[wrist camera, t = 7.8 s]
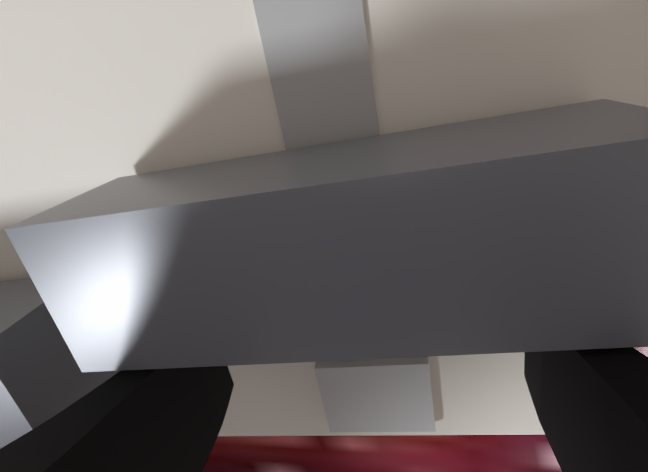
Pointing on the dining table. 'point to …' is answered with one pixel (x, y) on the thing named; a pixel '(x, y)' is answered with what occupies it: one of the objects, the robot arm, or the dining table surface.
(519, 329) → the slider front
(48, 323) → the slider back
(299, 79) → the switch board
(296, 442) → the dining table surface
